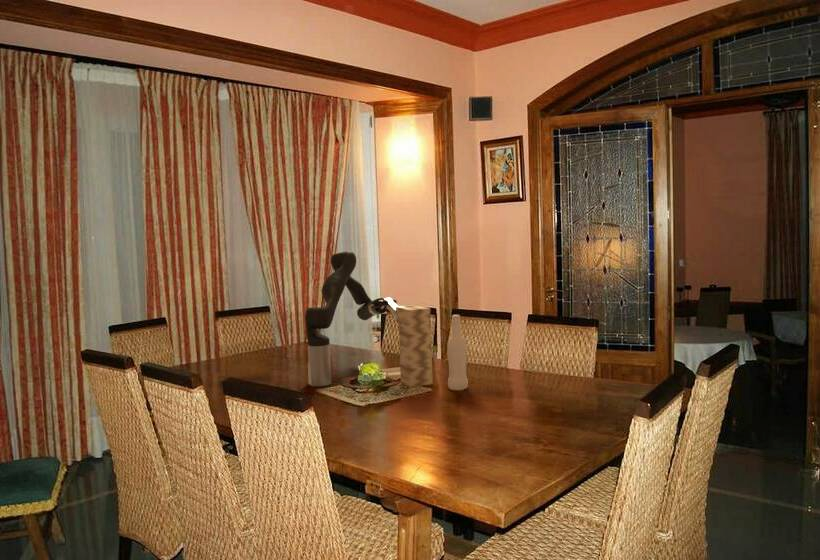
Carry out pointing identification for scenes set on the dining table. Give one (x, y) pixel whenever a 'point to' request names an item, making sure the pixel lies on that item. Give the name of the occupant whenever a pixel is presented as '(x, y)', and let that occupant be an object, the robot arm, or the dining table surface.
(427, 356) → the brown wavy-grained wooden cylinder
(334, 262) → the robot arm
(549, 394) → the dining table surface
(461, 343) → the bottle
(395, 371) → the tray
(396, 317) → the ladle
